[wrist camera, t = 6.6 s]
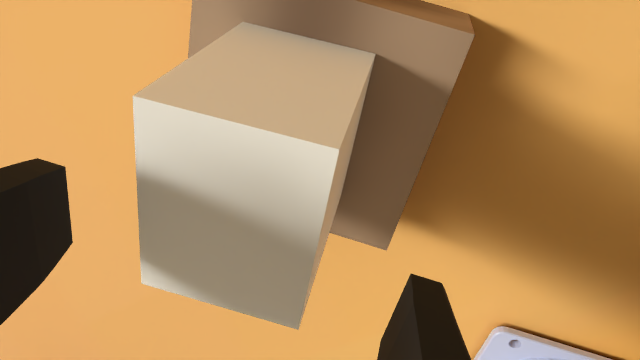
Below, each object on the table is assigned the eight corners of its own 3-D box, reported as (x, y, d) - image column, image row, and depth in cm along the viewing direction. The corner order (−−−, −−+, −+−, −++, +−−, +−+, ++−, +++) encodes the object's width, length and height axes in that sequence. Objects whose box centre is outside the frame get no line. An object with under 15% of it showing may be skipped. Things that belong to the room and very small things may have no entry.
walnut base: (468, 11, 15) (474, 34, 13) (392, 204, 20) (386, 250, 17) (233, -56, 16) (195, -46, 13) (210, 148, 20) (178, 185, 18)
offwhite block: (375, 54, 14) (339, 150, 9) (341, 194, 16) (298, 329, 11) (242, 21, 14) (132, 95, 9) (230, 164, 17) (141, 283, 12)
